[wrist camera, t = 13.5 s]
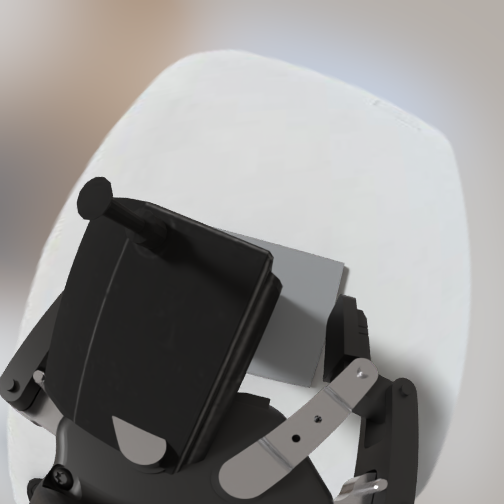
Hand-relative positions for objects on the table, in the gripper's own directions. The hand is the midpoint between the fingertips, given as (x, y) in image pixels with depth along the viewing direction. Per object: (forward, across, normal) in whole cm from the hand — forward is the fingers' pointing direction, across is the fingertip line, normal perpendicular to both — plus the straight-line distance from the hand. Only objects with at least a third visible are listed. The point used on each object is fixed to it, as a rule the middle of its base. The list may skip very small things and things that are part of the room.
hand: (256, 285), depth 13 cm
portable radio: (+9, +2, +13) cm, 16 cm away
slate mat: (+10, 0, +12) cm, 16 cm away
